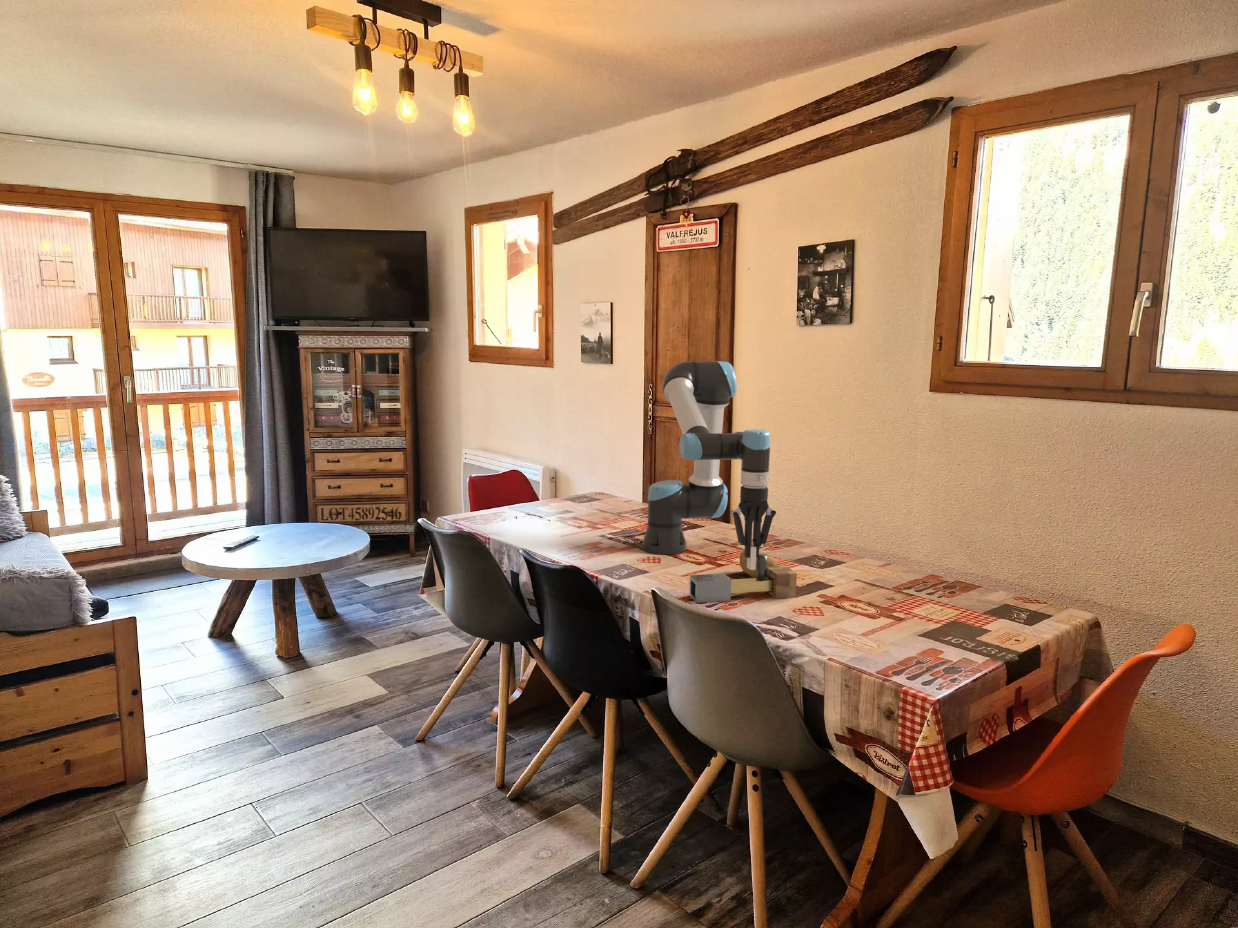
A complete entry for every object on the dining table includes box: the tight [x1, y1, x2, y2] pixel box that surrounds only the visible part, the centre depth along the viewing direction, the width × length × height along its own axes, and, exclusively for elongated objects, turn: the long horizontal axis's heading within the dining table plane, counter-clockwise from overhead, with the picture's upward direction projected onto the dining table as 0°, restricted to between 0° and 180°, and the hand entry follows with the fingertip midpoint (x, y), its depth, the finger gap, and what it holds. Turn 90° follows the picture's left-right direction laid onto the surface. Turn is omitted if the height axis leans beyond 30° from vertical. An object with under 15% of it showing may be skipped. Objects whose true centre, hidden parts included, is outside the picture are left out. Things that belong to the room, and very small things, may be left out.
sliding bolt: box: [731, 553, 774, 594], centre depth 217 cm, size 3×19×10 cm, turn 103°
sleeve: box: [688, 572, 732, 604], centre depth 215 cm, size 6×10×6 cm, turn 103°
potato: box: [738, 549, 779, 578], centre depth 234 cm, size 10×14×8 cm
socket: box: [765, 564, 798, 600], centre depth 220 cm, size 8×6×7 cm
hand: (751, 568), depth 217 cm, fingers closed
